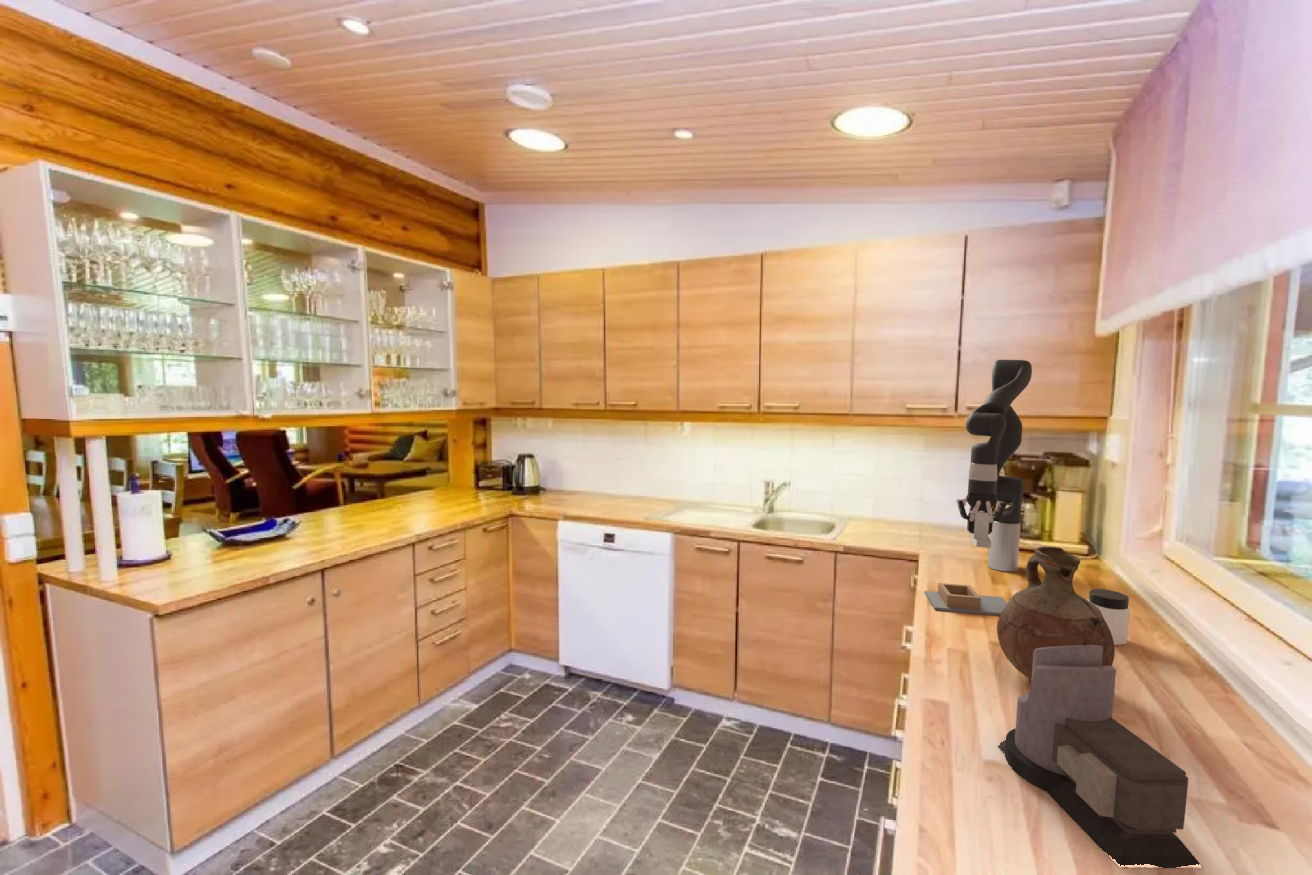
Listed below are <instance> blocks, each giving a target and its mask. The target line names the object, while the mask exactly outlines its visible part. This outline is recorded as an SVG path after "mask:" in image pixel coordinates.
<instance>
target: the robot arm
mask: <svg viewBox="0 0 1312 875" xmlns="http://www.w3.org/2000/svg"><path fill="white" fill-rule="evenodd" d="M1032 373H1033V368H1032V364H1031V362H1030V361H1028V360H1024V359H997V360H995V361H994V363H993V365H992V370H991V388H992V389H991V390H992V391H991V392H990V393H989V394H987V396H986V398H985V399H984V402H983V403H982V404H981V405H980V406H978V407H977V408H976V409H974V410H973V411H971V413H970V414H969V415H968V417H967V419H966V422H965V428H966V431H967V433H969V434H970V435H972V436H976V437H977V436H979V437H980V436H983V437H990V438H989V439H988V441H986V442H981V443H975V444H973V445H972V446H971V450H970V464H969V470H968V484H967V485H968V486H967V495H966V496H965V498H961V499H959V498H957V499H956V505H957V507H958V511H959V514H960V517H961V518H963V519H964V520H966V521H967V525H966V530H967V531H968V532H969V534H971V533H972V534H973V533H974V522H973V520H974V518H975V515H976V514H977V511H984V512H987V513H988V515H990V516H989V532H988V536H989V538H988V539H989V540H990V541H991V548H988V554H987V556H988V558H987V567H988V568H990V569H992V570H995V571H1000V572H1009V573H1010V572H1011V573H1012V572H1017V571H1018V569H1019V567H1018V566H1019V555H1020V553H1019V552H1020V541H1021V540H1020V537H1021V522H1022V506H1023V498H1024V490H1025V488H1024V487H1025V483H1024V480H1023V478H1022V477H1017V476H1006V475H1000V472H1001V470H1002V468H1003V467H1004V465H1005V464H1006V463H1007V461H1008V460H1009V459H1010V458H1011V457H1012V455H1013V454H1015V453H1016V451H1017V450H1018V449H1019V447H1020V446H1021V444H1022V441H1023V440H1022V437H1023V423H1022V421H1021V419H1020V417H1019V416H1018V414H1017V413H1016V411H1015V409H1013V407H1012V406H1011V405H1012V404H1013V402H1014V400H1015V399H1017V397H1019V395H1020V394H1021V393H1023V392H1024V390H1025V389H1026V388H1027V387H1028V385H1029V384H1030V381H1031V379H1032V375H1033V374H1032ZM1007 503H1008V504H1010V503H1011V504H1010V506H1008V507H1007ZM967 504H968V505H969V506H970V507H969V509H968V514H967V510H966V508H965V506H966V505H967ZM995 505H996V506H995ZM994 506H995V507H996V510H993V507H994ZM992 510H993V511H992Z"/></svg>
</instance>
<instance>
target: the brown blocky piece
mask: <svg viewBox="0 0 1312 875" xmlns="http://www.w3.org/2000/svg"><path fill="white" fill-rule="evenodd" d="M1102 656H1103V647H1102V646H1099V645H1069V646H1053V647H1043V648H1037V649H1035V650H1034V652H1033V667H1032V681H1031V680H1030V682H1031V683H1030V684H1031V685H1030V688H1029V691H1028V693H1027V692H1026V693H1022V694H1020V696H1018V697H1017V702H1016V704H1017V706H1016V717H1015V718H1016V720H1015V728H1013V729H1011V730H1009V731H1008V732H1007V733H1006V735H1005V739H1006V740H1005V739H1004V740H1005V741H1003V740H1002V741H1003V742H1002V741H1001V743H1000V742H999V743H1000V745H999V746H998V745H997V746H998V747H997V748H998V749H999V748H1000V749H1001V750H1000V749H999V750H1000V751H1001V752H1002V751H1003V752H1002V754H1004V753H1005V754H1004V759H1005V758H1006V759H1005V761H1006V760H1007V761H1006V763H1007V762H1008V763H1007V765H1008V766H1009V765H1010V766H1011V767H1012V768H1011V767H1010V766H1009V767H1010V768H1011V769H1012V771H1013V772H1015V773H1016V774H1017V775H1018V776H1019V777H1020V778H1021V779H1023V780H1025V781H1026V782H1027V783H1029V784H1031V785H1032V786H1035V787H1036V788H1038V789H1040V790H1042V791H1043V792H1044V791H1045V792H1046V793H1047V794H1048V795H1049V797H1051V798H1052V800H1054V801H1055V803H1057V805H1058V806H1059V807H1060V808H1061V809H1062V810H1063V811H1064V812H1065V813H1066V814H1067V815H1068V816H1069V817H1070V819H1072V820H1073V821H1074V822H1075V824H1076V825H1078V827H1080V829H1081V830H1082V831H1083V832H1084V833H1085V834H1086V835H1087V836H1088V837H1089V838H1090V839H1091V840H1092V841H1093V842H1094V843H1095V844H1096V846H1098V848H1099V849H1100V850H1102V851H1101V852H1103V851H1104V852H1106V853H1107V854H1108V855H1110V856H1111V857H1112V859H1115V860H1116V862H1117V863H1118V864H1120V866H1121V865H1124V866H1125V865H1135V864H1137V865H1140V864H1141V865H1144V864H1150V865H1155V866H1158V867H1162V868H1161V869H1177V868H1176V867H1181V866H1188V865H1196V864H1198V865H1199V864H1201V862H1199V861H1198V859H1197V858H1196V857H1195V856H1194V854H1193V853H1192V852H1191V851H1190V849H1188V847H1187V845H1185V844H1184V843H1183V841H1182V840H1181V839H1180V838H1179V837H1178V835H1176V834H1175V833H1177V830H1184V827H1185V817H1186V808H1187V807H1186V806H1187V799H1188V798H1187V797H1188V787H1189V786H1188V785H1189V777H1188V776H1187V772H1186V771H1185V770H1184V769H1182V768H1181V767H1180V766H1179V765H1177V764H1176V763H1175V762H1173V761H1171V760H1170V759H1169V758H1167V757H1166V756H1165V755H1164V754H1162V753H1161V752H1159V751H1158V750H1157V749H1156V748H1154V747H1153V746H1151V745H1150V744H1148V743H1147V742H1146V741H1144V740H1143V739H1142V738H1140V737H1139V736H1138V735H1136V734H1135V733H1133V731H1131V730H1129V729H1128V728H1126V727H1125V726H1124V725H1122V724H1121V723H1120V722H1119V721H1118V720H1115V719H1114V718H1113V713H1114V712H1113V711H1114V710H1113V709H1114V700H1115V699H1114V698H1115V689H1116V688H1115V685H1116V674H1117V669H1116V668H1115V667H1114V666H1113V665H1112V666H1102ZM1104 852H1103V853H1104Z"/></svg>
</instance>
